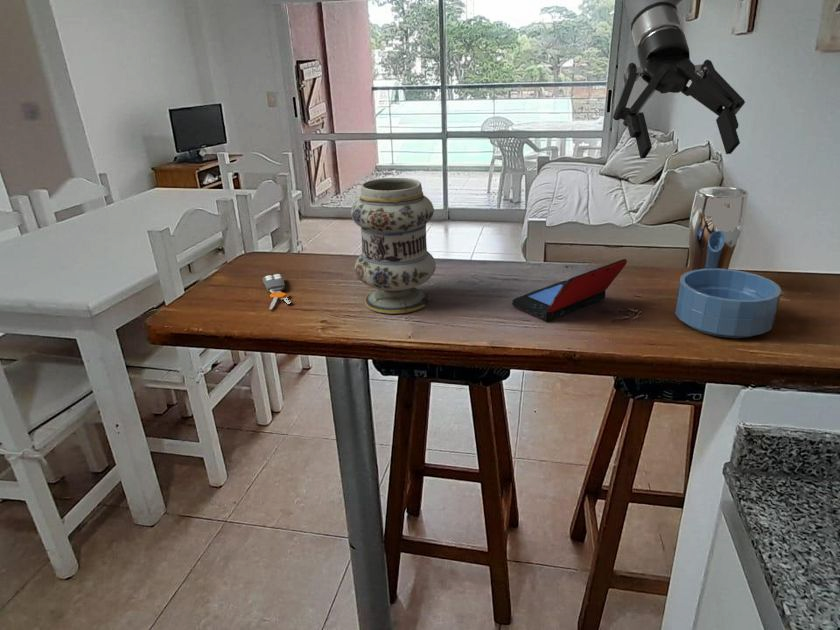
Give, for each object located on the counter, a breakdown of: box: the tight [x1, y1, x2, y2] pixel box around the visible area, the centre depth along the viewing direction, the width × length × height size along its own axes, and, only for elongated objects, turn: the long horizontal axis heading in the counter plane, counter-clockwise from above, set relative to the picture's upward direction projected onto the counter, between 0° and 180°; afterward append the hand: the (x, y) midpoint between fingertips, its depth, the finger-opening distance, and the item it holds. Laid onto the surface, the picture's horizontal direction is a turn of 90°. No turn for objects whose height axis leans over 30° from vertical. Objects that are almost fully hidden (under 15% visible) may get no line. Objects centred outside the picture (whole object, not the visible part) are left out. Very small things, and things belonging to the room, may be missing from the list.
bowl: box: [674, 268, 782, 339], centre depth 75 cm, size 12×12×6 cm
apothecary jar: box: [350, 177, 437, 315], centre depth 84 cm, size 12×12×18 cm
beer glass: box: [687, 185, 749, 272], centre depth 83 cm, size 7×7×15 cm
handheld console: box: [511, 258, 628, 322], centre depth 81 cm, size 12×11×7 cm
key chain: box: [262, 273, 292, 311], centre depth 92 cm, size 13×4×2 cm, turn 19°
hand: (689, 151), depth 88 cm, fingers open, 13 cm apart
